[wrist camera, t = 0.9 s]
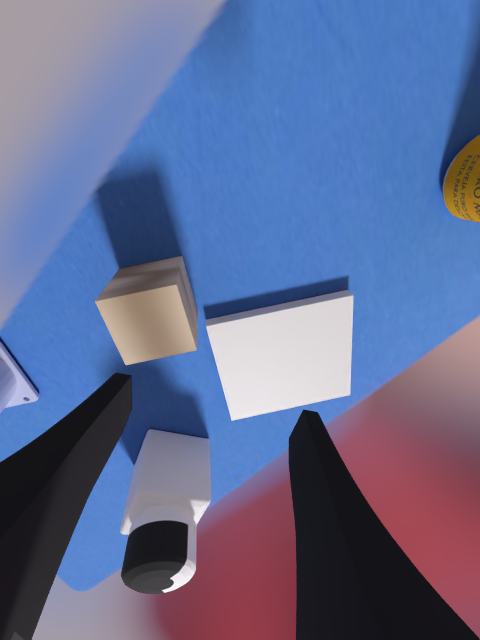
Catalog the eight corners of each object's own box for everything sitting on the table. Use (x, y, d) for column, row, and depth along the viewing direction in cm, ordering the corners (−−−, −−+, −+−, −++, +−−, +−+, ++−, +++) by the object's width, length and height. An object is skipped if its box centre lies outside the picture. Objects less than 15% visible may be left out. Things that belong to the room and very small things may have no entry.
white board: (230, 412, 31) (231, 420, 30) (205, 319, 25) (206, 326, 24) (345, 387, 31) (349, 394, 30) (347, 289, 25) (353, 295, 24)
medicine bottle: (133, 467, 34) (103, 602, 23) (148, 426, 31) (121, 561, 20) (191, 474, 36) (187, 602, 25) (210, 437, 33) (214, 565, 22)
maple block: (141, 322, 25) (125, 365, 20) (119, 268, 22) (94, 301, 17) (197, 310, 25) (196, 350, 20) (182, 255, 22) (176, 284, 17)
